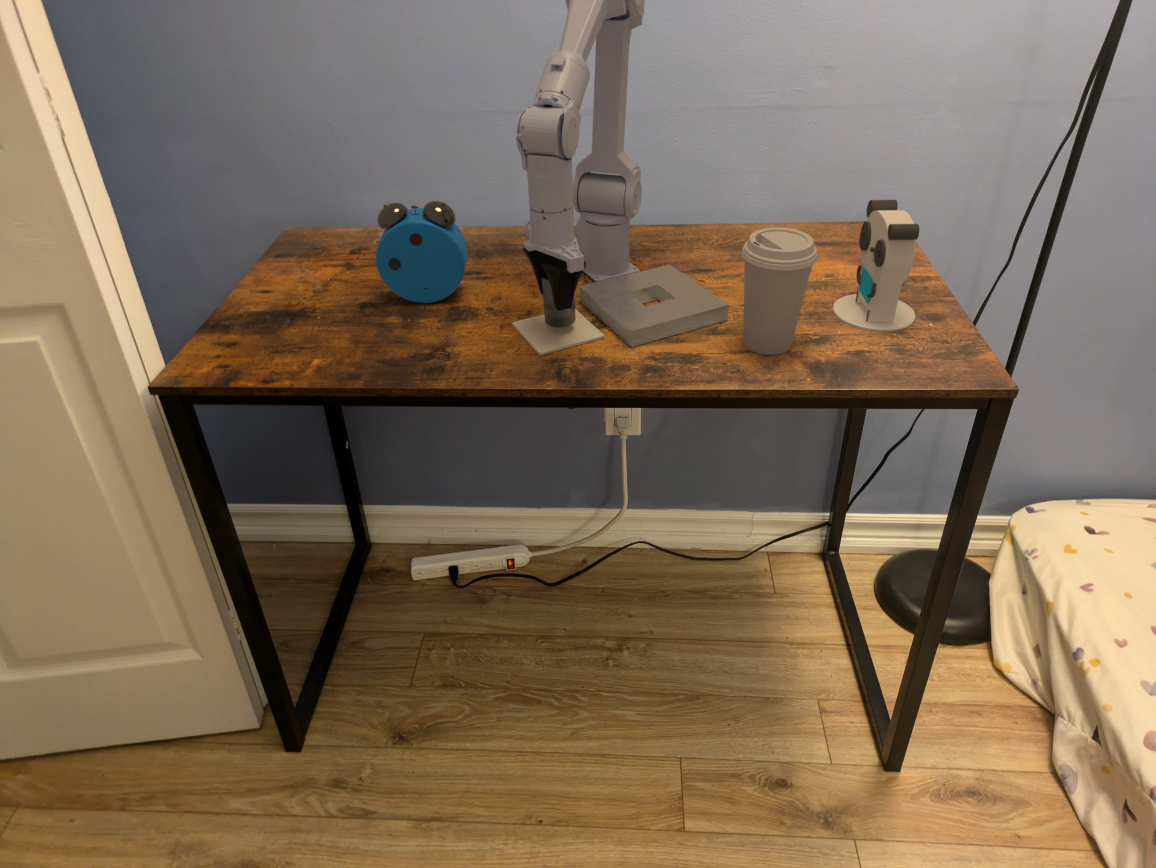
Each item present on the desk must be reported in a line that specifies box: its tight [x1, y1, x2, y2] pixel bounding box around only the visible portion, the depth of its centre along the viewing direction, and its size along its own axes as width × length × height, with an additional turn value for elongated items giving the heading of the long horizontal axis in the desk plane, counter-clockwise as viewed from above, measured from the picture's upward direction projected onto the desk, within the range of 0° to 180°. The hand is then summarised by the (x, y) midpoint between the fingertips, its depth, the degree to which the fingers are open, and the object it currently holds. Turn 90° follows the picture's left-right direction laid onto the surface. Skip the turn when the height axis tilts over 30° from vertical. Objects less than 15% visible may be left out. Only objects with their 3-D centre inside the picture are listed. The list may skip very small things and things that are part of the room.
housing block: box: [578, 264, 730, 348], centre depth 113 cm, size 16×16×2 cm
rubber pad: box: [511, 308, 606, 356], centre depth 109 cm, size 10×10×1 cm
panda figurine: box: [832, 199, 920, 333], centre depth 107 cm, size 12×11×15 cm
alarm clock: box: [375, 200, 468, 304], centre depth 115 cm, size 13×6×15 cm, turn 92°
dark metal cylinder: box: [542, 274, 576, 327], centre depth 107 cm, size 4×4×6 cm
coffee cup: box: [740, 227, 819, 356], centre depth 101 cm, size 10×10×15 cm
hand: (556, 301), depth 107 cm, fingers closed on dark metal cylinder, 4 cm apart
